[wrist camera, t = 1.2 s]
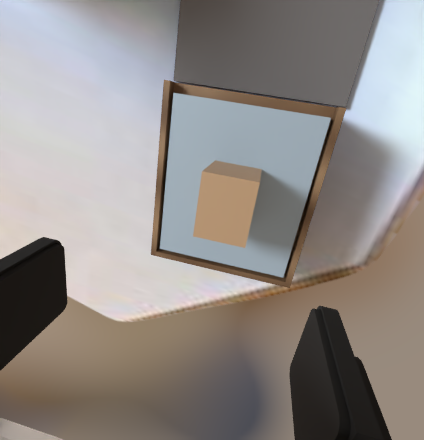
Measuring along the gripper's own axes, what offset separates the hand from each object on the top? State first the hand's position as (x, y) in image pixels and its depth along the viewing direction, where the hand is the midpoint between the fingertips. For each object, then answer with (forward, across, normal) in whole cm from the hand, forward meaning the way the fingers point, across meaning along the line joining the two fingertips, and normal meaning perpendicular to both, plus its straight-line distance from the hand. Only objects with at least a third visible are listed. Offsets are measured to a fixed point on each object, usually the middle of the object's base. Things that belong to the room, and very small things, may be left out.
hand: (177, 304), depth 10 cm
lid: (+16, 0, 0) cm, 16 cm away
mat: (+22, 0, -17) cm, 28 cm away
